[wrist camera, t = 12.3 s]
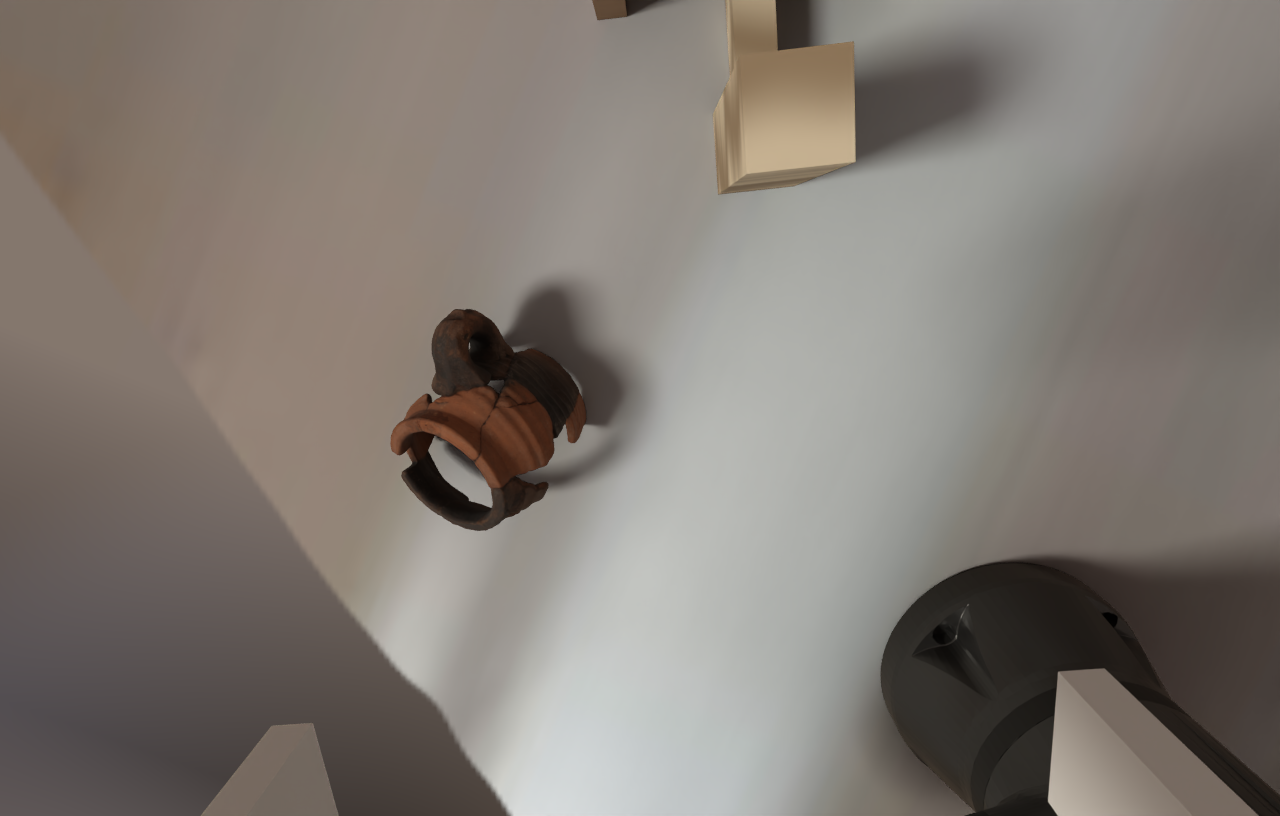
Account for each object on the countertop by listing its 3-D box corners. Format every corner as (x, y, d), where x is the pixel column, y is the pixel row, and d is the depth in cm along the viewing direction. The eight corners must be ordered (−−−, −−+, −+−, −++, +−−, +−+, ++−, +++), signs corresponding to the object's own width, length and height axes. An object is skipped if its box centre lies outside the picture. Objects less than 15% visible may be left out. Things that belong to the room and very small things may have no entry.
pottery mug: (613, 461, 39) (542, 555, 33) (494, 449, 43) (412, 531, 37) (559, 275, 33) (459, 348, 27) (427, 284, 37) (316, 348, 31)
